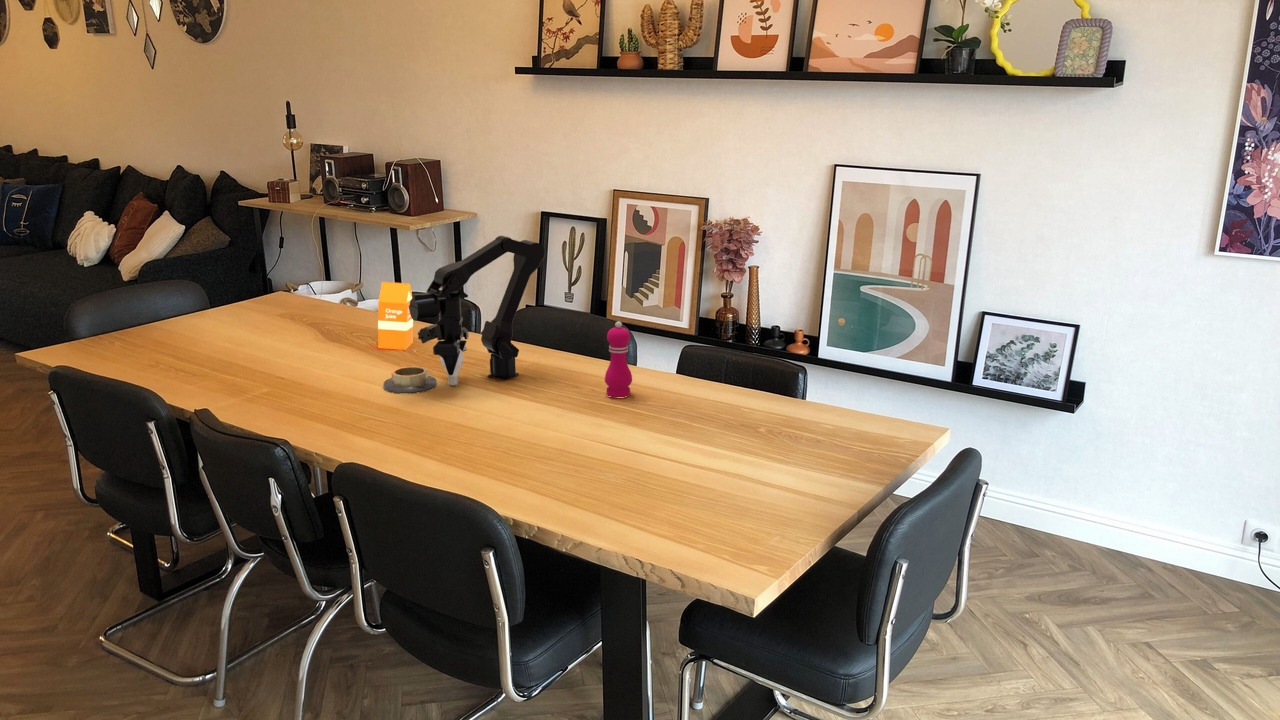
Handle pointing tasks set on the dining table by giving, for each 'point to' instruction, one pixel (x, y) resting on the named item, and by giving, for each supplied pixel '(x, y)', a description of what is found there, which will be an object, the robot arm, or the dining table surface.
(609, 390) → the pepper mill
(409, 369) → the holder
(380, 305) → the orange juice
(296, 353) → the dining table surface
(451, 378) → the lightbulb
